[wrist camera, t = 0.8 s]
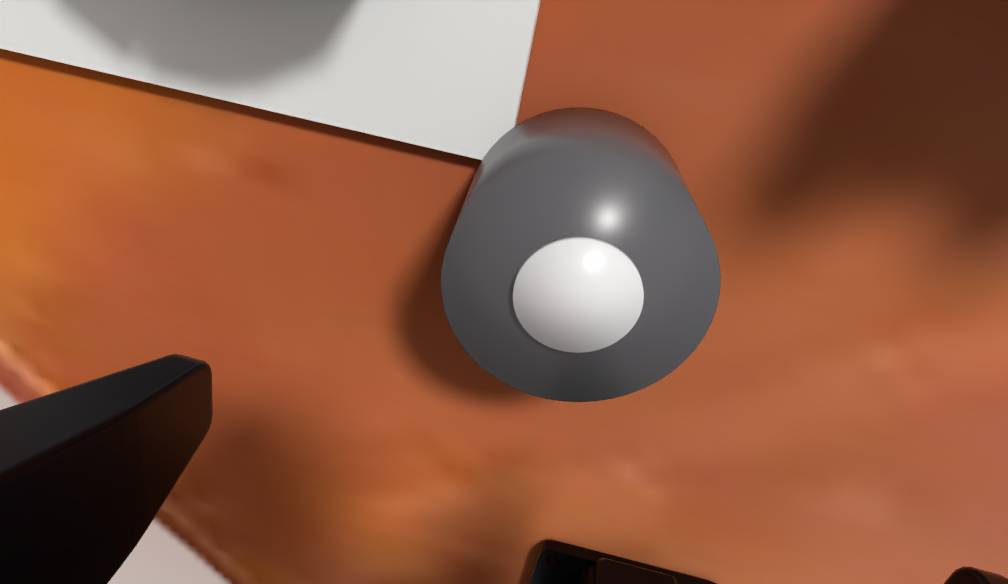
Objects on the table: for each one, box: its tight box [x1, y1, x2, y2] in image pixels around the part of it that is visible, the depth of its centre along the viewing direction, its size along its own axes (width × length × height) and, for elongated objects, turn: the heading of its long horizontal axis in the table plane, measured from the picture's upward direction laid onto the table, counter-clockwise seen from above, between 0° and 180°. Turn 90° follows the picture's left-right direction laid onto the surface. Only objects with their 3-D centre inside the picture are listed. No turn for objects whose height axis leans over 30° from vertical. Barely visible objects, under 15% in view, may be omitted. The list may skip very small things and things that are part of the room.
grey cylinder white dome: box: [441, 108, 721, 402], centre depth 14 cm, size 6×6×4 cm
